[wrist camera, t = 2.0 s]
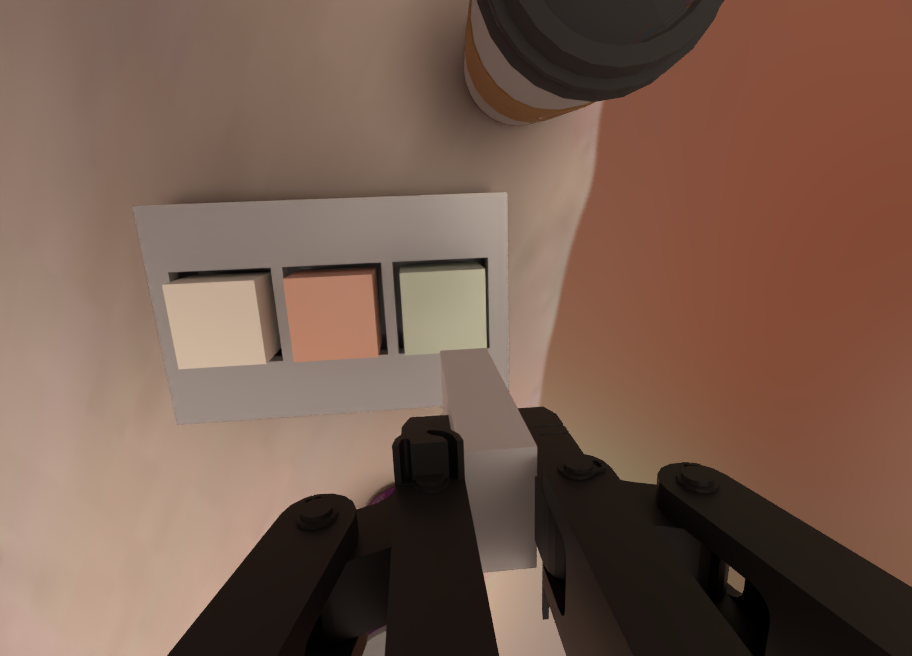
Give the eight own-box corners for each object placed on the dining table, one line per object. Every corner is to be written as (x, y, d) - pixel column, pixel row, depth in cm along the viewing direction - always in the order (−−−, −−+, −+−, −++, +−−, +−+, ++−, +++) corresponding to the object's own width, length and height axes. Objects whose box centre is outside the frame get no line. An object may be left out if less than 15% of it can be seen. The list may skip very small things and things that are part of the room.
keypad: (175, 205, 28) (131, 205, 24) (493, 193, 30) (507, 192, 25) (210, 393, 31) (176, 425, 27) (495, 374, 33) (509, 401, 28)
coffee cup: (492, 171, 29) (570, 141, 15) (417, 41, 27) (423, -144, 13) (609, 95, 29) (808, -14, 14) (542, -45, 27) (697, -339, 12)
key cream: (189, 275, 26) (161, 284, 23) (271, 271, 27) (254, 280, 24) (203, 351, 27) (178, 369, 24) (281, 347, 28) (266, 364, 25)
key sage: (400, 265, 27) (399, 273, 24) (477, 262, 27) (485, 269, 25) (405, 339, 28) (404, 355, 25) (479, 335, 29) (486, 350, 26)
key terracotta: (296, 270, 27) (282, 278, 24) (376, 266, 27) (371, 274, 24) (306, 345, 28) (293, 362, 25) (382, 341, 28) (378, 357, 25)
